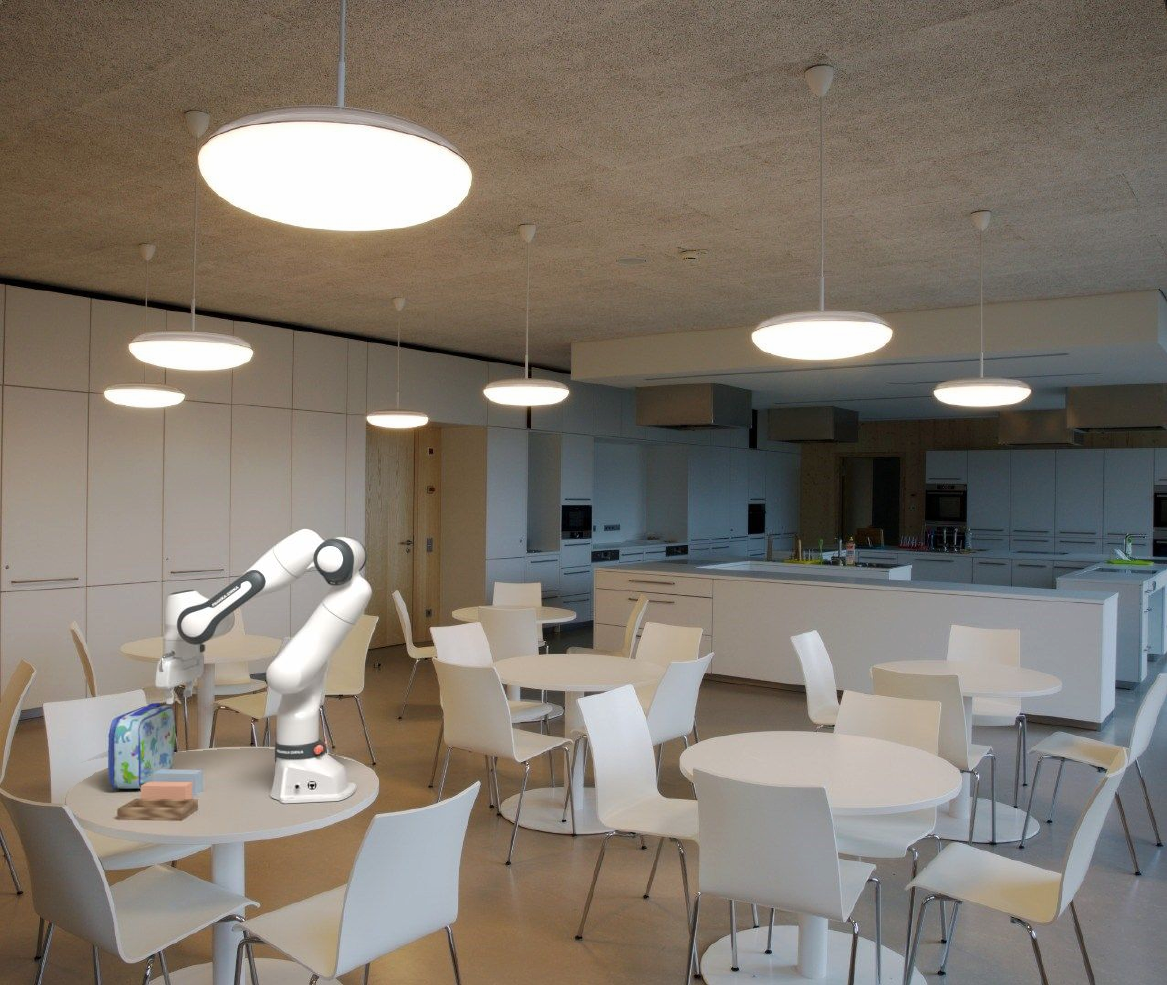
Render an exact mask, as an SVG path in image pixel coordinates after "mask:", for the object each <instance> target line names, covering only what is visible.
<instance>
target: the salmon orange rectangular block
mask: <svg viewBox="0 0 1167 985" xmlns="http://www.w3.org/2000/svg"><path fill="white" fill-rule="evenodd" d="M193 797H194V796H193V782H147V783H145V784H143V785H142V786H141V788H140V799H193Z"/></svg>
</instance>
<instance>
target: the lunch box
mask: <svg viewBox="0 0 1167 985" xmlns="http://www.w3.org/2000/svg"><path fill="white" fill-rule="evenodd" d="M175 718H176V717H175V713H174V709H173V706H170V705H162V704H161V703H160V702H155V703H152V702H151V703H149V704H148V705H145V706H142V707H139V708H137V709H133V710H131V711H128V712H126V713H124V714H120V715H119V716H116V717H115V718H113V719H112V721H111V722H110V727H109V733H108V748H107V750H108V752H107V753H108V755H107V756H108V757H107V759H108V761H107V764H108V765H107V767H108V768H107V770H108V771H107V772H108V780H109V784H110V786H111V788H112V790H118V789H121V790H123V789H126V790H131V789H141V786H142V785H143V784H145V783H147V782H153V773H155V772H157V771H159V770H161V769H172V767H173V765H174V756H175V738H176V735H175V734H176V721H175V720H176V719H175Z"/></svg>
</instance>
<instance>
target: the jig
mask: <svg viewBox="0 0 1167 985" xmlns="http://www.w3.org/2000/svg"><path fill="white" fill-rule="evenodd" d="M198 803H199V800H198V799H197V798H196V799H195V798H194V799H141V798H134V799H133V800H130V801H129V802H127V803H125V804H124V805H122V806H120V807H118V808H117V810H116V813H117V815H116V819H129V820H131V821H132V820H133V821H135V820H136V821H137V820H138V821H140V820H141V821H183V820H185V819H186V818H188V816H191V815H192V814H193V813H194V812H197V810H199V804H198Z"/></svg>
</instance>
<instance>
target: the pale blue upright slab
mask: <svg viewBox="0 0 1167 985" xmlns="http://www.w3.org/2000/svg"><path fill="white" fill-rule="evenodd" d="M203 775H204V769H174V768H173V769H172V768H171V769H161V770H159V771H157V772H155V773H153V782H193V797H197V795H199V794H202V793H203V792H204V791H203V790H204V788H203V787H204V786H203V785H204V784H203V783H204V782H203V780H204V776H203Z"/></svg>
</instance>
